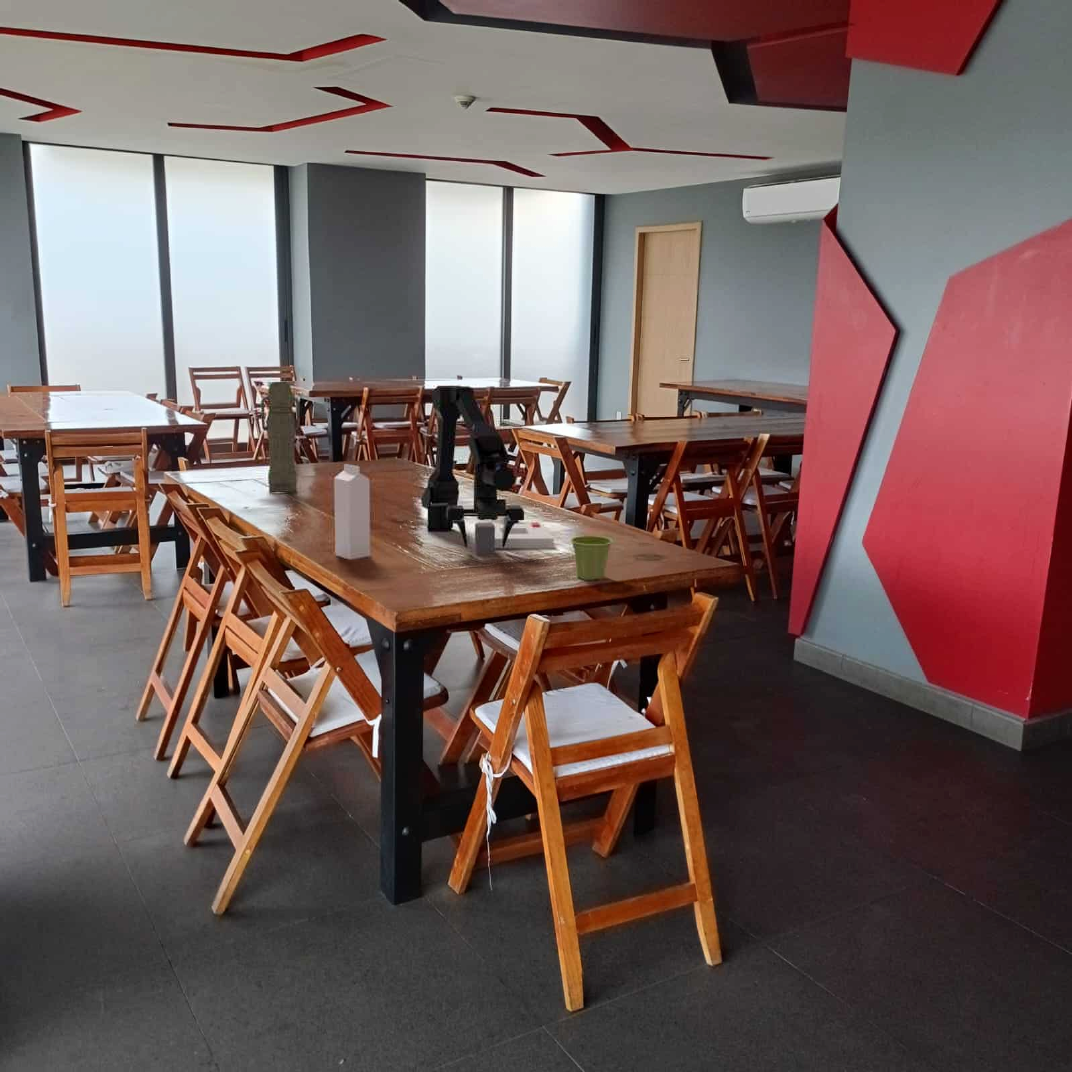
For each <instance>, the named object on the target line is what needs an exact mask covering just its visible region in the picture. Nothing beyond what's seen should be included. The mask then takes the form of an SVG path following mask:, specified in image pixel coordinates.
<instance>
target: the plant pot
mask: <svg viewBox="0 0 1072 1072" xmlns="http://www.w3.org/2000/svg"><path fill="white" fill-rule="evenodd" d="M570 542H571V543H572V548H573V549H574V556H575V557H574V559H575V566H576V575H577V577H578V578H580V580H586V581H593V580H596V579H597V580H602V579H604V578H605V576H606V575H605V573H606V569H607V568H606V567H607V562H608V556H609V550H610V549H611V545H612V544H613V540H612V539H611V538H608V537H604V536H597V535H579V536H575V537H572V538H571V539H570Z"/></svg>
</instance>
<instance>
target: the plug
mask: <svg viewBox="0 0 1072 1072" xmlns="http://www.w3.org/2000/svg"><path fill="white" fill-rule="evenodd" d="M494 524H495V523H493V522H486V521H485V522H484V521H483V522H480V521H479V522H476V523H475V524H474V553H475V556H495V550H496V548H495V526H494Z"/></svg>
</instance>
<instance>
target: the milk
mask: <svg viewBox="0 0 1072 1072" xmlns="http://www.w3.org/2000/svg"><path fill="white" fill-rule="evenodd" d="M333 485H334V491H333V492H334V497H333V498H334V545H335V546H334V547H335V548H334V550H335V551H334V555H335V556H338V557H340V558H344V559H347V560H356V559H361V558H366V557H367V558H368V557H370V556H371V525H370V524H371V518H370V512H371V511H370V509H371V507H370V502H371V501H370V497H371V495H370V492H371V491H370V488H371V487H370V486H371V485H370V478H368V477H367V476H365V475H363V474H362V473H360V466H358V465H354V464H353V465H352V464H349V463H348V464H347V463H344V464H343V470H342V471H341V472H340V473H338V474H337V475H336V476H335V477H334V479H333Z"/></svg>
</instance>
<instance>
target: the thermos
mask: <svg viewBox="0 0 1072 1072" xmlns="http://www.w3.org/2000/svg"><path fill="white" fill-rule="evenodd" d="M265 401H267V407H268V415H267V418H266V420H265V417H266V416H265ZM293 401H295V405H296V409H295V411H296V412H295V413H296V420H295V417H294V411H293V405H294V402H293ZM300 403H301V402H300V400H299V399H298V398H297V397H294V395H293V391H292V387H291V384H290V383H288V381H272V382H271V383H269V386H268V390H267V396H264V397H263V398H262V399H261V401H260V409H261V426H262V427H261V428H262V430H265V431H266V436H267V440H268V453H269V454H268V457H269V469H268V473H267V474H268V475H267V478H268V480H267V483H268V488H269V489H268V492H269V491H270V493H272V492H292V493H295V492H294V491H296V490H297V483H298V476H297V475H298V474H297V471H296V468H295V467H296V466H295V459H296V458H295V439H296V431H298V430H299V429H300V427H301V420H300V419H301V418H300V417H301V416H300V415H301V414H300V412H301V408H300V406H301V405H300ZM265 421H266V422H265ZM265 423H266V425H265ZM296 492H297V491H296Z"/></svg>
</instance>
